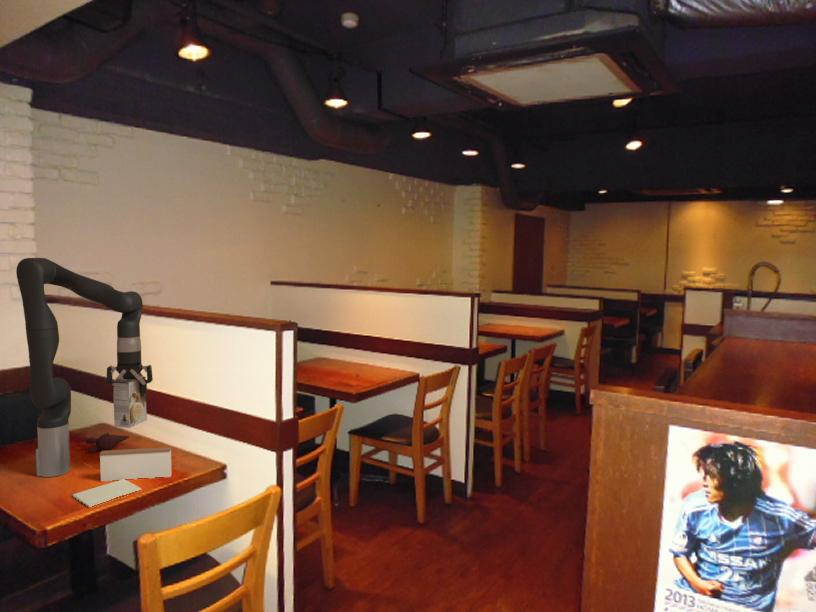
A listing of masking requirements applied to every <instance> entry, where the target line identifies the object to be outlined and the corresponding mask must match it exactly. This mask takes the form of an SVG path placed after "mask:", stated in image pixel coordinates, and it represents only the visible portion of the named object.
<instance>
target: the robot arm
mask: <svg viewBox="0 0 816 612" xmlns="http://www.w3.org/2000/svg"><path fill="white" fill-rule="evenodd" d="M15 272H16V279H17V283H18V287H19V288H18V289H19V292H20V296H21V300H22V307H23V316H24V321H25V324H24V325H25V334H26V343H27V349H28V351H27V352H28V359H29V360H28V361H29V395H30V400H31V402H32V404H33V405H34V406H35V407H36V408H38V409H41V410H43V411H42V412H41V414H40V415H38V418H37V419H36V427H37V428H36V429H37V430H36V431H37V432H36V433H37V448H36V449H35V464H36V476H37V477H44V478H53V477H59V476H62V475H65V474H67V473H69V472H71V452H70V451H71V450H70V446H71V445H70V429H69V428H70V427H69V426H70V425H69V424H70V423H69V418H70V416H71V414H72V413H71V412H72V410H71V409H72V390H71V386H70V384H69V382H68V381H67V380H66V379H65V378H61V377H54V371H53V370H54V369H53V367H54V360H55V358H56V355H57V353H58V348H59V345H60V332H59V331H60V330H59V326H58V325H59V324H58V321H57V318H56V316H55V314H54V312H53V311H52V309H51V308H50V306H49V304H48V303H47V299H46V294H45V285H51V286H52V285H53V286H58V287H61V288H65V289H67V290H69V291H71V292H72V293H74V294H76V295H77V296H79V297H80V298H81V297H82V298H84V299H86V300H89V301H91V302H95V303H98V304H102V305H103V306H105V307H106V308H108V309H109V310H112V311H114V312H116V313H121V317H120V319H119V320H118V321H117V324H116V364H117V365H116V366H113V365H109V366H108V367H107V368H106V384H107V385H111V386H112V387H113V381H116V380H120V379H122V378H124V379H127V378H131V379H134V378H137V379H138V380H139V381H140V382H141V383H142V385H141V391H142V395H145V394H146V395H147V392H148V384H150V383H152V382H153V380H154V379H153V368H152V364H148V365H143V364H142V339H141V331H140V330H141V327H140V326H141V324H140V323H141V319H142V313H143V307H144V306H143V305H144V303H143V298H142V296H141V295H140V294H139V293H138V292H137V291H132V290H130V291H125V292H124V291H119V290H117V289H114V287H113V286H112V285H110V284H109V283H108V284H107V283H105V282H102V281H99V280H96V279H93V278H90V277H87V276H84V275H82V274H80V273H76V272H74V271H72V270H70V269H67V268H65V267H64V266H62V265H60V264H58V263H56V262H54V261H52V260H50V259H48V258H45V257H27V258H23V259H21V260H20V261H19V262H18V263H17V265H16V271H15ZM143 370H144V372H145V373H146V377H145V376H144V375H143V374H142V371H143ZM115 371H116V372H117V373H118V375H117V377H116V378H115V379H113V373H115ZM144 377H145V378H146V379H145V378H144Z"/></svg>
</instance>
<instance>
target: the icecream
mask: <svg viewBox="0 0 816 612" xmlns="http://www.w3.org/2000/svg"><path fill="white" fill-rule="evenodd" d="M129 438H130V436H129V435H119V434H117V435H116V434H110V433H109V432H107V433H104V434H102V435H101V434H100V436H99V437H98V438H95V437H92V436H91V437H87V439H86V440H85V443H86V444H88V445H90V444H91V445H93V444H95V445H94V446H91V447H89V448H88V449H87V453H88V454H91V452H92V453H95V452H97V451H99V450H101V451H109V450H111V449H113V447H115V446H117V445H118V444H120V443H122V442H124V441H125V440H127V439H128V440H129Z"/></svg>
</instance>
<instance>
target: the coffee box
mask: <svg viewBox="0 0 816 612" xmlns="http://www.w3.org/2000/svg"><path fill="white" fill-rule="evenodd" d="M144 378H145V379H146V380H147V377H146V376H144ZM141 385H142V383H141V382H140V381H139V380H138V379H137V378H134V379H131V378H127V379H124V378H122V379H120V380H116V381H115V380H114V381H113V386H112V394H113V395H112V397H113V418H114V419H113V420H114V428H116V427H117V428H127V429H129V428H133V427H135V426H137V425H139V424H142V423H144V422H145V421H147V420H148V415H147V413H148V412H147V393H146V394H145V395H142V391H141Z"/></svg>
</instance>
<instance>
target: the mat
mask: <svg viewBox="0 0 816 612" xmlns="http://www.w3.org/2000/svg"><path fill="white" fill-rule="evenodd" d="M139 490H141V491H142V487H140V486H138V485H136V484H134V483H132V482H130V480H125V479H122V480H119V481H111V482H109V483H105V484H102V485H100V486H95V487H94V488H90V489H86V490H83V491H80V492H77V493H73V494H72V498H74V499H75V498H76V499H75V500H77V501H78V500H79V501H78V502H79V503H81V502H82V503H83V504H82V503H81V504H82V505H84V504H85V505H86V507H87V506H88V507H91V508H93V507H92V506H94V505H97V504H100V503H103V502H106V501H109V500H111V499H114V498H116V497H119V496H122V495H126V494H129V493H132V492H135V491H139ZM109 502H110V501H109ZM106 503H107V502H106ZM103 504H104V503H103ZM85 505H84V506H85ZM100 505H101V504H100ZM97 506H98V505H97ZM88 507H87V508H88ZM94 507H95V506H94Z"/></svg>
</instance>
